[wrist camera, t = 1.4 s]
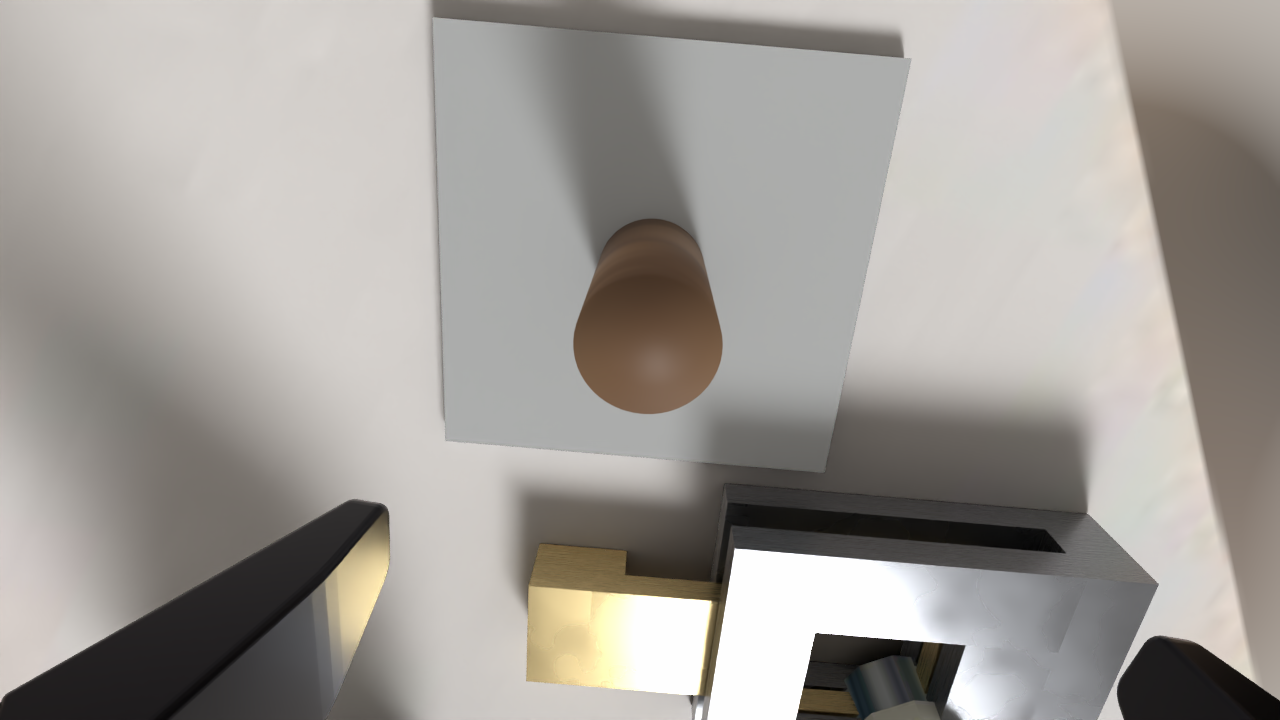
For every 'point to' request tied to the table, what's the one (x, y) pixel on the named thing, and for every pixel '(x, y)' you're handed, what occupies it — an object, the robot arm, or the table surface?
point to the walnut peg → (649, 321)
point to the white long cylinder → (889, 691)
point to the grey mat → (654, 189)
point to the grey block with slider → (852, 609)
